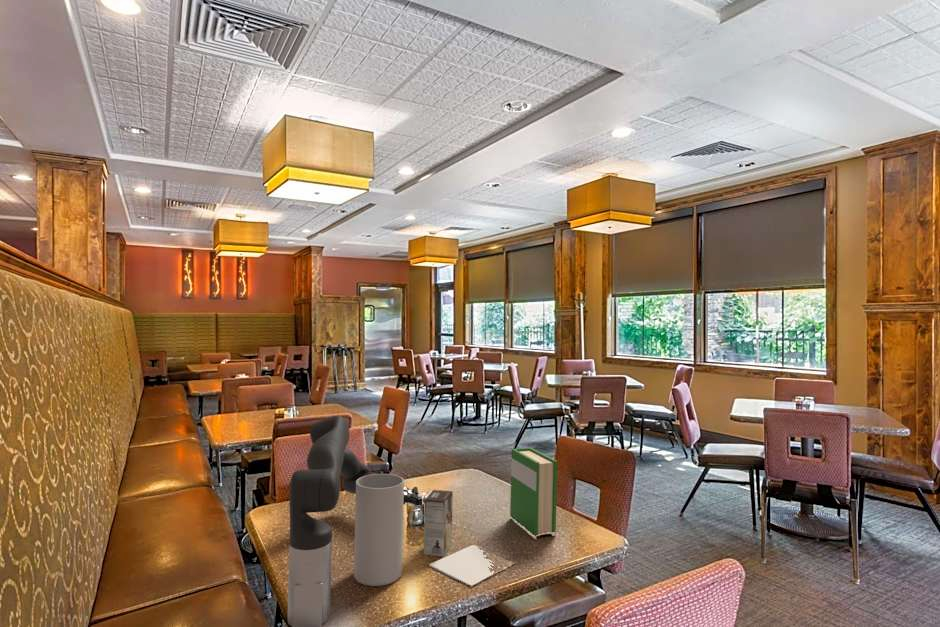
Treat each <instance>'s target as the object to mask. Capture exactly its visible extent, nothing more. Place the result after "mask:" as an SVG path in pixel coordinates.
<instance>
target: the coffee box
mask: <svg viewBox="0 0 940 627" xmlns="http://www.w3.org/2000/svg"><path fill="white" fill-rule="evenodd" d="M453 493H454V492H453V491H451V490H441V489H440V490H439V489H438V490H437V489H433V490H432V491H430V493H429V495H428V496H426V497H425V499H424V525H423V526H424V528H423V530H424V531H423V532H424V533H423V535H424V536H423V554H424V555H428V556H437V557H443V556H444V557H446V554H447V552H448V551H449V548H450V547H451V546H452V543H453V542H452V541H453V540H452V539H453V537H452V536H453V495H454V494H453Z"/></svg>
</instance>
